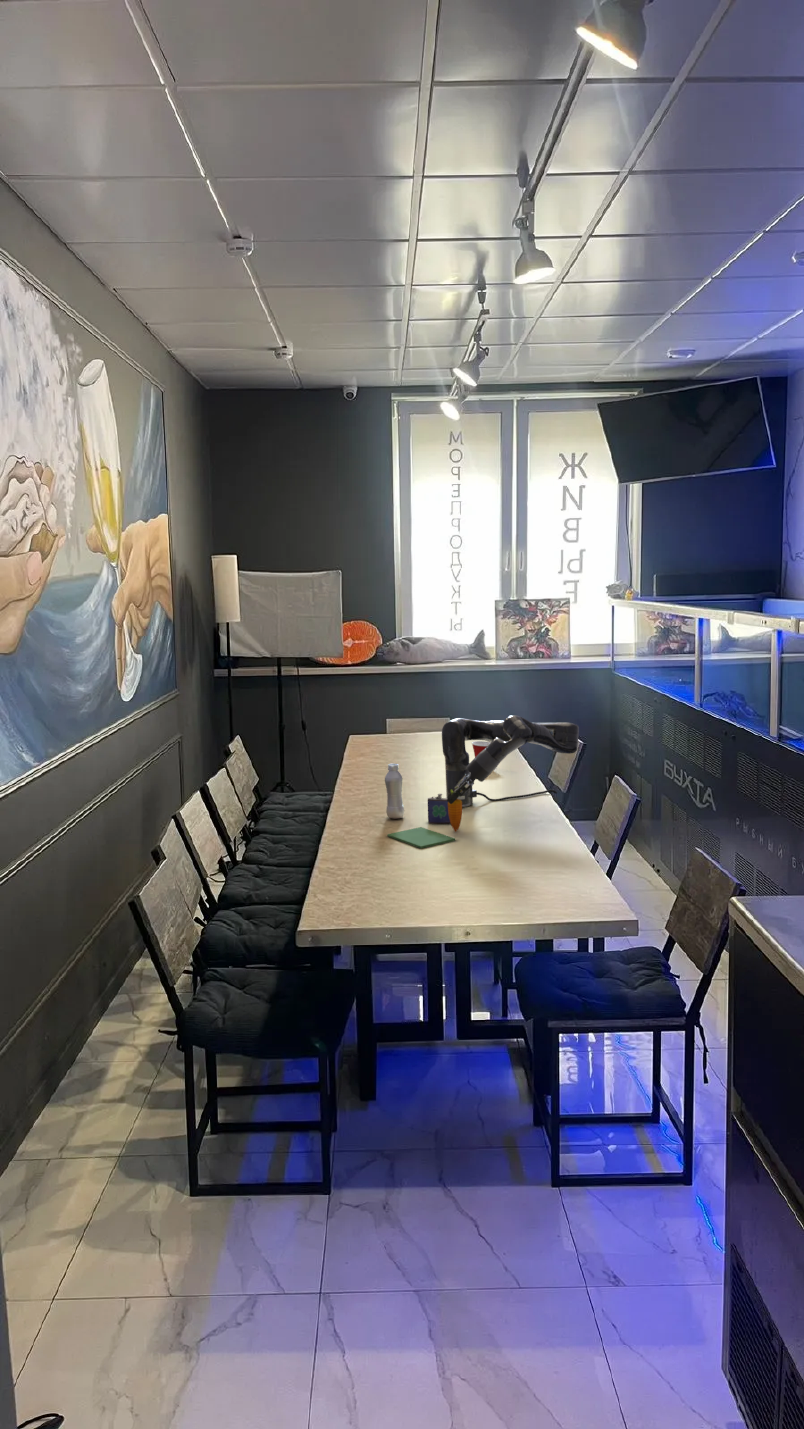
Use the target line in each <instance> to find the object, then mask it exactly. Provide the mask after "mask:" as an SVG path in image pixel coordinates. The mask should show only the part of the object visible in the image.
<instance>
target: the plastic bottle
mask: <svg viewBox="0 0 804 1429" xmlns="http://www.w3.org/2000/svg"><path fill="white" fill-rule="evenodd" d="M387 770H388V771H387V772H386V774H385V776H384V783H385V784H384V785H385V788H386V809H385V810H386V811H385V813H386V816H387V817H388V818H389V819H395V820H396V819H397V820H398V819H401V818H404V815H405V806H404V802H403V778H404V777H403V775H402V774H401V773H400V771H399V763H389V764H387Z"/></svg>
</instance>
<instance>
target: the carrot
mask: <svg viewBox="0 0 804 1429" xmlns="http://www.w3.org/2000/svg"><path fill="white" fill-rule="evenodd" d="M450 791H451V795H452V793H453V790H452V789H451V790H450ZM448 814H449V819H450V823H451V824H450V825H451V828H452V829H453V831H454V832H456V833H457V832H458V831H459V829H460V826H461V823H462V817H463V807H462V801H461V800H459V799H456V800H455V801H454V802H453V803H452V804H450V803H449V802H448Z"/></svg>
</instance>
